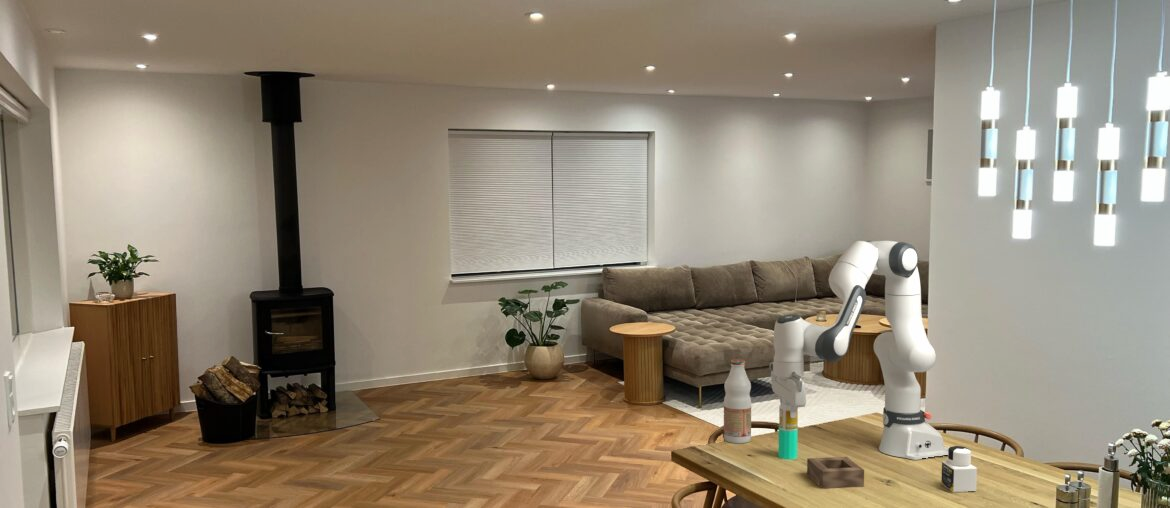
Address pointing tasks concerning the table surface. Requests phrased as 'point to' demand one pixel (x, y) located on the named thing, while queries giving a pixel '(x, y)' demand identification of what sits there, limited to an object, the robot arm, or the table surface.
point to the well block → (835, 472)
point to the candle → (787, 444)
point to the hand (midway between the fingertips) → (788, 414)
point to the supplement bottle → (787, 417)
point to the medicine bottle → (959, 470)
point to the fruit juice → (737, 404)
